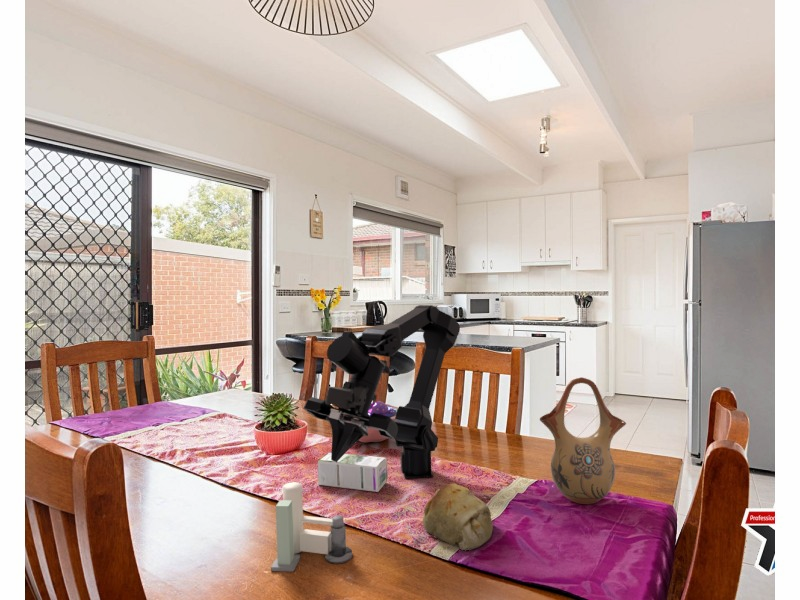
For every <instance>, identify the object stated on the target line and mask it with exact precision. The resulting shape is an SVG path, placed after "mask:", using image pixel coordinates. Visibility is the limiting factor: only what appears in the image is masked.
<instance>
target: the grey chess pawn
mask: <svg viewBox="0 0 800 600" xmlns="http://www.w3.org/2000/svg"><path fill="white" fill-rule="evenodd" d="M330 532H331V551H330V552H329V554H324V555H325V556H324V559H325V561H326V562H327V563H329V564H332V565H341V564H344V563H345V564H346V563H347V562H349V561H350V560H352V557H353V550H352V548H350V547H349V546H347V536H346V535H347V533H346V532H347V531H346V524H345V523H344V525H343V526H342V527H340V528H334V527H333V526H332V525H330Z"/></svg>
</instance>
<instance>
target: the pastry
mask: <svg viewBox="0 0 800 600" xmlns="http://www.w3.org/2000/svg"><path fill="white" fill-rule="evenodd" d="M423 514H424V515H423V517H422V526H423V528H424V529H425V531H426V532H427V533H428V534H430V535H431V534H433V535H434V536H435V537H436V539H437V538H438V540H439V539H440V540H439V541H441V540H443V541H442V542H444V541H445V543H447V544H449V543H450V544H449V545H451V544H453V545H452V546H455V545H457V547H459V548H458V549H460V548H461V549H460V550H462V551H463V550H465V551H464V552H466V550H469V551H472V550H474V549H477V548H479V547H481V546H482V545H484V544H485V543H487V542H488V541H489V540H490V539H491V537H492V536H493V531H494V524H493V520H492V513H491V510H490V508H489V507H488V505H487V504H486V503H485V502H484V501H483V500H481V499H479V498H478V497H476V496H475V495H474V494H473V493H472V492H471V490H470V489H469V488H467V487H465V486H462V485H459V484H457V483H455V482H451V483H448V484H445V485H443V486H442V487H438V488H437V489H436V491H435V493H434V495H432V497H431V498H430V499H429V500H428V501H427V502H426V505H425V507H424V511H423ZM433 535H432V536H433ZM434 536H433V537H434Z"/></svg>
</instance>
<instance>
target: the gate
mask: <svg viewBox="0 0 800 600" xmlns="http://www.w3.org/2000/svg"><path fill="white" fill-rule="evenodd" d="M282 500H292V515H293V549H294V555H298V554H300V553H301V552H304V553H305V552H306V553H313V554H322V555H325V554H329V552H330V551H331V531H325V530H315V529H309V528H308V529H306V528H304V523H306V524H307V523H308V524H314V525H315V524H316V525H324V526H331V525H332V526H333V527H334V528H340V527H342V526H343V525H344V524H345V523H344V516H343V515H341V514H339V515H334V516H333V517H332V518H328V517H321V516H320V517H319V516H310V515H304V508H303V484H302V483H301V482H299V481H298V482H297V481H295V482H293V481H292V482H288V483H287V482H286V483H285V484H284V485H282Z"/></svg>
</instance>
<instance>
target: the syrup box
mask: <svg viewBox="0 0 800 600" xmlns="http://www.w3.org/2000/svg"><path fill="white" fill-rule="evenodd" d="M331 454H332V451H329V452H327V453H326V454H325V455H323V456H322V457H321V458H319V459H318V461H317V483H318V486H326V487H333V488H340V489H342V488H343V489H349V490H350V489H351V490H360V491H368V492H377V493H379V491H380V490H381V489H382V488H383V486H384V485H385V484H386V483H387V481H388V462H387V457H383V456H371V455H363V454H362V455H360V454H352V453H345V454H344V455H343V456H342V457H341V458H340V459H339V460H338V461H337V462H335V461H332V460H331Z"/></svg>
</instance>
